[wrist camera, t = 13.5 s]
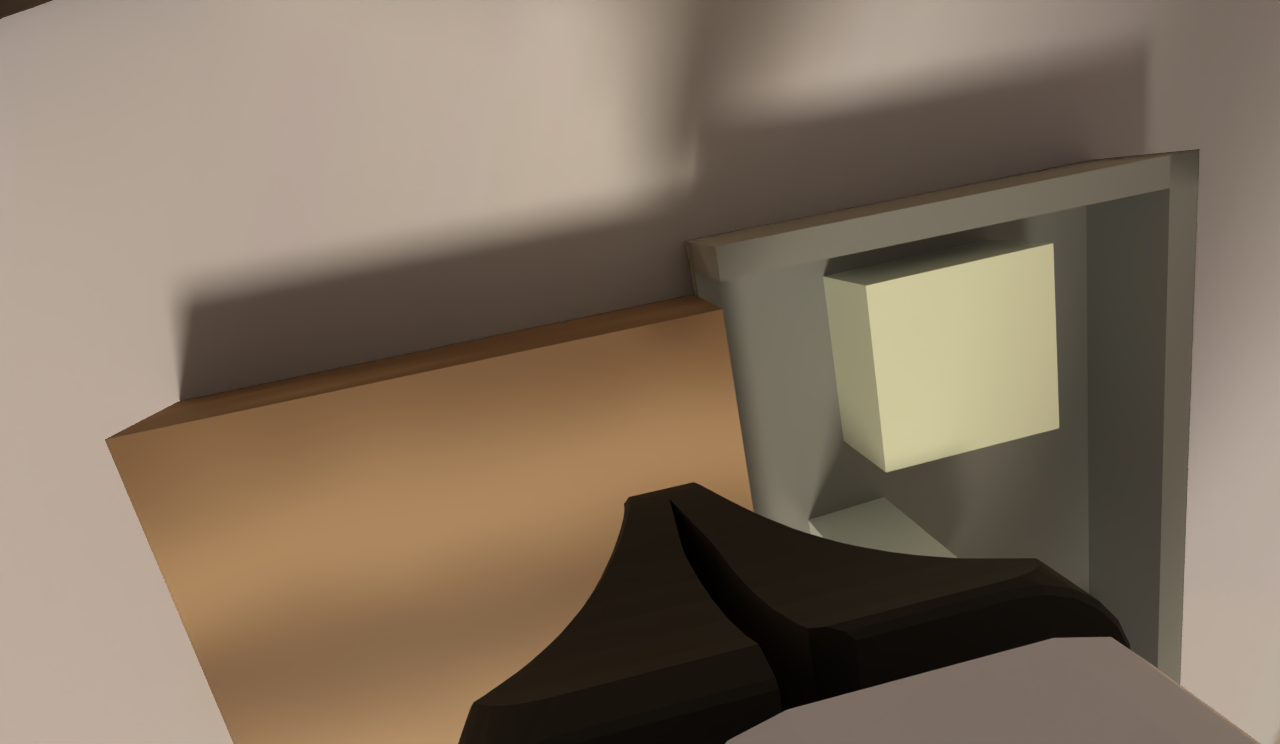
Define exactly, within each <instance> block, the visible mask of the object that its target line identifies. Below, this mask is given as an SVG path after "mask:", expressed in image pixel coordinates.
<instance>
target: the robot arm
mask: <svg viewBox="0 0 1280 744" xmlns="http://www.w3.org/2000/svg"><path fill="white" fill-rule="evenodd" d="M458 744H1260V743H1259V742H1257V741H1256V740H1255V739H1253V738H1252V737H1251V736H1249V735H1248V734H1247V733H1245V732H1244V731H1242V730H1241V729H1240V728H1238V727H1237V726H1236V725H1234V724H1233V723H1231V722H1230V721H1229V720H1227V719H1226V718H1225V717H1223V716H1222V715H1221V714H1219V713H1218V712H1216V711H1215V710H1214V709H1212V708H1211V707H1210V706H1208V705H1207V704H1205V703H1204V702H1203V701H1201V700H1200V699H1199V698H1197V697H1196V696H1195V695H1193V694H1192V693H1190V692H1189V691H1188V690H1186V689H1185V688H1184V687H1182V686H1181V685H1179V684H1178V683H1177V682H1175V681H1174V680H1173V679H1171V678H1170V677H1169V676H1167V675H1166V674H1164V673H1163V672H1162V671H1160V670H1159V669H1158V668H1156V667H1155V666H1153V665H1152V664H1151V663H1149V662H1148V661H1146V660H1145V659H1143V658H1142V657H1140V656H1139V655H1137V654H1136V653H1134V652H1133V651H1131V649H1130V643H1129V641H1128V639H1127V637H1126V635H1125V633H1124V631H1123V629H1122V627H1121V625H1120V622H1119V620H1118V619H1117V618H1116V617H1115V616H1114V615H1113V614H1112V613H1111V612H1110V611H1109V610H1108V609H1107V608H1106V607H1105V606H1104V605H1103V604H1102V603H1101V602H1100V601H1099V600H1097V599H1096V598H1094V597H1093V596H1091V595H1090V594H1088V593H1087V592H1085V591H1084V590H1082V589H1081V588H1080V587H1078V586H1077V585H1075V584H1074V583H1072V582H1071V581H1069V580H1068V579H1066V578H1065V577H1064V576H1062V575H1061V574H1059V573H1058V572H1056V571H1055V570H1053V569H1052V568H1050V567H1049V566H1047V565H1046V564H1044V563H1043V562H1041V561H1040V560H1038V559H1037V558H949V557H935V556H922V555H912V554H904V553H895V552H888V551H883V550H877V549H871V548H865V547H860V546H855V545H850V544H846V543H841V542H837V541H833V540H830V539H826V538H823V537H819V536H816V535H812V534H808V533H805V532H802V531H799V530H796V529H793V528H791V527H788V526H786V525H783V524H781V523H778V522H775V521H773V520H770V519H768V518H766V517H763V516H761V515H759V514H757V513H754V512H752V511H750V510H748V509H746V508H744V507H742V506H740V505H738V504H736V503H734V502H732V501H730V500H728V499H726V498H724V497H722V496H720V495H719V494H717V493H715V492H713V491H711V490H709V489H707V488H705V487H704V486H702V485H700V484H697V483H695V482H692V483H688V484H683V485H679V486H675V487H670V488H666V489H662V490H657V491H653V492H648V493H644V494H640V495H635V496H631V497H628V499H627V500H626V502H625V503H624V517H623V521H622V525H621V529H620V532H619V535H618V538H617V541H616V544H615V547H614V550H613V552H612V555H611V557H610V559H609V561H608V563H607V566H606V568H605V570H604V572H603V574H602V576H601V578H600V580H599V582H598V583H597V585H596V587H595V589H594V590H593V592H592V594H591V595H590V597H589V598H588V600H587V601H586V603H585V604H584V606H583V607H582V609H581V610H580V611H579V612H578V614H577V615H576V616H575V617H574V618H573V620H572V621H571V622H570V623H569V624H568V626H567V627H566V628H565V629H564V630H563V631H562V632H561V634H560V635H559V636H558V637H557V638H556V639H555V640H554V641H552V642H551V643H550V644H549V645H548V646H547V647H546V648H545V649H544V650H543V651H542V652H541V653H540V654H538V655H537V656H536V657H535V658H534V659H533V660H532V661H530V662H529V663H528V664H527V665H526V666H524V667H523V668H522V669H521V670H519V671H518V672H517V673H515V674H514V675H512V676H511V677H510V678H508V679H507V680H505V681H504V682H503V683H501V684H500V685H498V686H497V687H495V688H494V689H493V690H491V691H490V692H488V693H487V694H486V695H484V696H483V697H481V698H479V699H478V700H476V701H475V702H473V704H472V706H471V708H470V710H469V713H468V716H467V719H466V722H465V725H464V728H463V731H462V734H461V737H460V739H459V742H458Z"/></svg>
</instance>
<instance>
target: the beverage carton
mask: <svg viewBox="0 0 1280 744" xmlns="http://www.w3.org/2000/svg"><path fill="white" fill-rule="evenodd" d="M49 1H52V0H0V19H1V18H3V17H6V16H9V15H12V14H15V13H18V12H21V11H24V10H27V9H30V8H33V7H35V6H38V5H41V4H44V3H46V2H49Z"/></svg>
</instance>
